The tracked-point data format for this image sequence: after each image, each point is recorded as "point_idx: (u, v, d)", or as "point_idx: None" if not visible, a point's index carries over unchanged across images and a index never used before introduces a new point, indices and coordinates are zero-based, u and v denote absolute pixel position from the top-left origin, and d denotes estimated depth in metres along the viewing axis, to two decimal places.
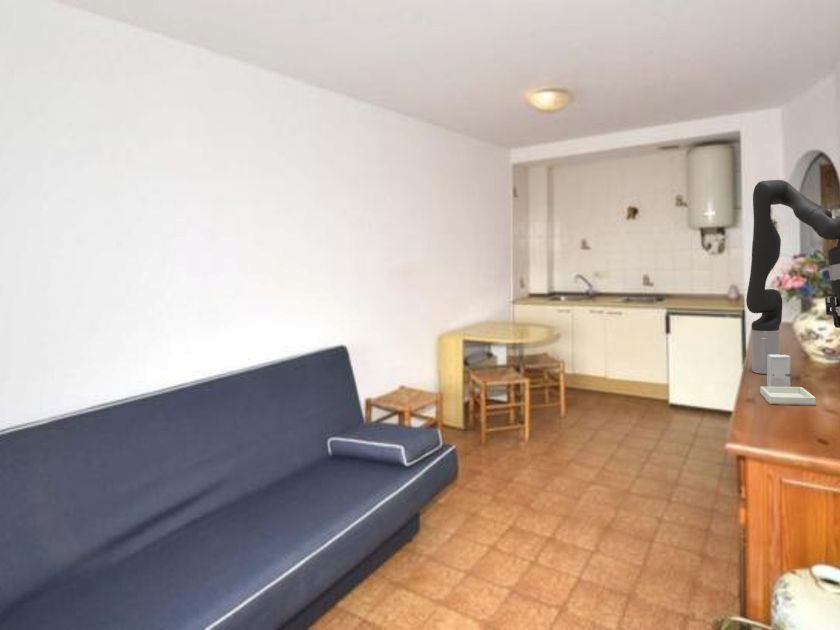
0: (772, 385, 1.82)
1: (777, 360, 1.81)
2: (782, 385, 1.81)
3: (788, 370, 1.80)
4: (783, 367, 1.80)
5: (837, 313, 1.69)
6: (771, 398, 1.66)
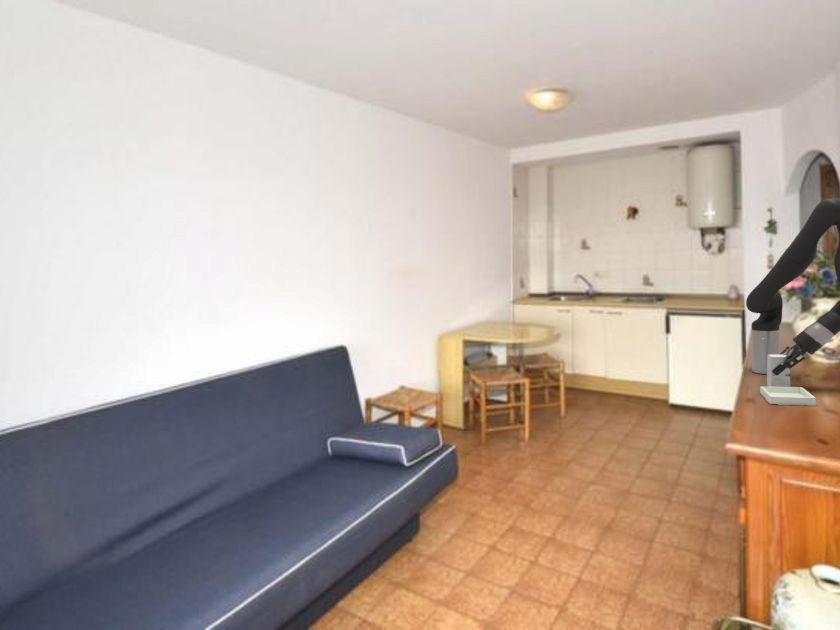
0: (772, 385, 1.82)
1: (777, 360, 1.81)
2: (782, 385, 1.81)
3: (788, 370, 1.80)
4: None
5: None
6: (771, 398, 1.66)
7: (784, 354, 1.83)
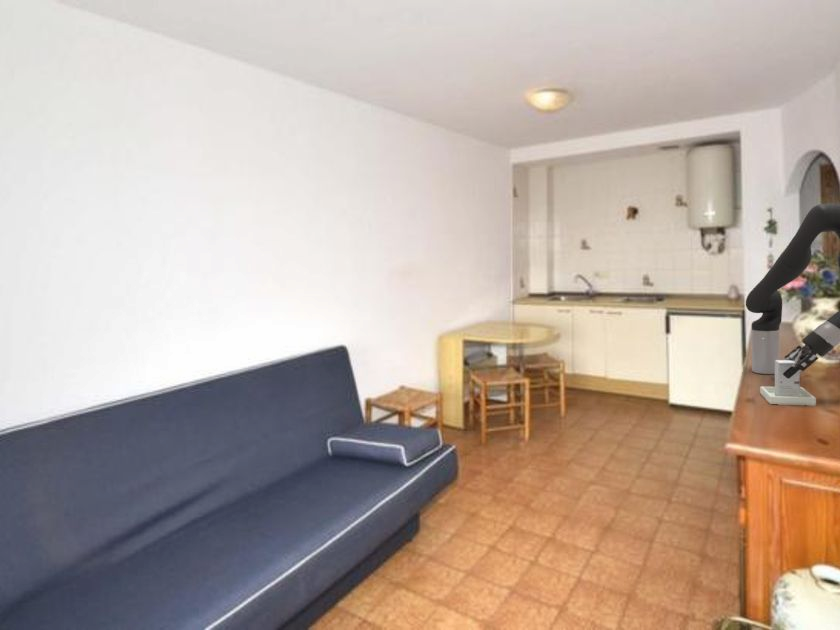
0: (779, 393, 1.70)
1: (785, 366, 1.68)
2: (790, 393, 1.68)
3: (797, 377, 1.67)
4: None
5: None
6: (771, 398, 1.66)
7: (792, 355, 1.71)
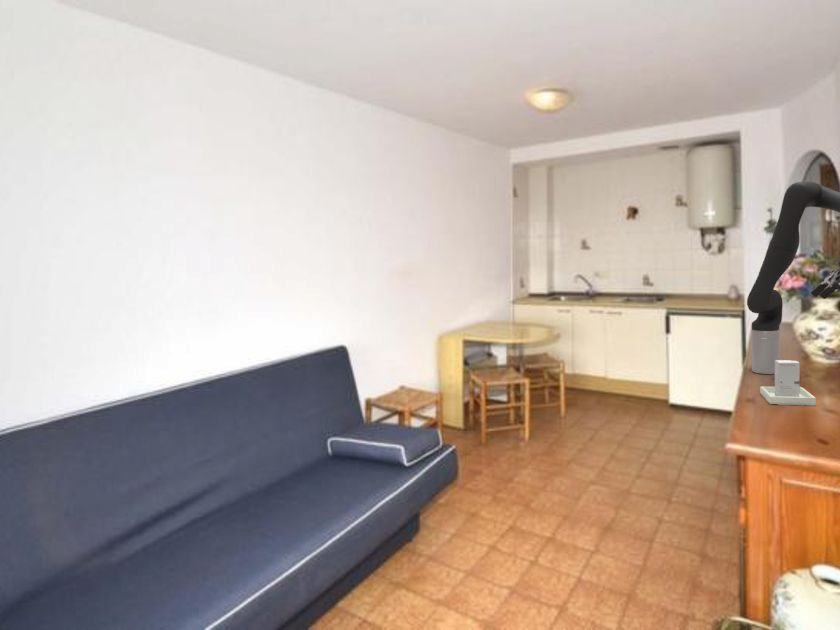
0: (779, 393, 1.70)
1: (785, 366, 1.68)
2: (790, 393, 1.68)
3: (797, 377, 1.67)
4: (792, 374, 1.68)
5: None
6: (771, 398, 1.66)
7: (827, 278, 1.75)
